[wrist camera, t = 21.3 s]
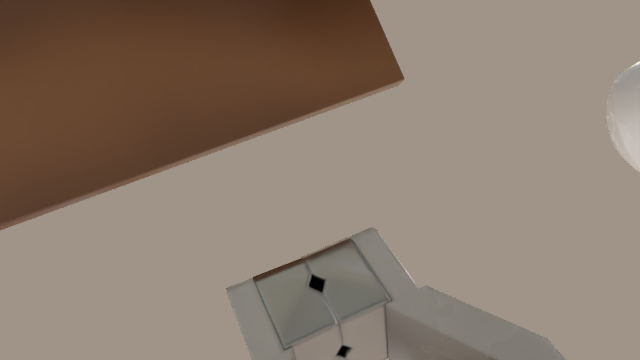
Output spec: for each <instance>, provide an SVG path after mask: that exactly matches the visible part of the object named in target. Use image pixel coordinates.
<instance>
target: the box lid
mask: <svg viewBox="0 0 640 360" xmlns="http://www.w3.org/2000/svg"><path fill="white" fill-rule="evenodd" d="M403 80H404V76H403V74H402V72H401V70H400V67H399V65H398V63H397V61H396V58H395V56H394V54H393V51H392V49H391V47H390V45H389V42H388V40H387V38H386V35H385V33H384V31H383V29H382V27H381V24H380V22H379V20H378V17H377V15H376V13H375V10H374V8H373V6H372V4H371V1H370V0H0V230H2V229H5V228H8V227H11V226H13V225H16V224H18V223H21V222H24V221H27V220H30V219H32V218H35V217H38V216H41V215H44V214H46V213H49V212H52V211H55V210H57V209H60V208H63V207H65V206H68V205H71V204H74V203H77V202H79V201H82V200H85V199H87V198H90V197H93V196H96V195H98V194H101V193H104V192H107V191H109V190H112V189H115V188H118V187H120V186H123V185H126V184H129V183H131V182H134V181H137V180H139V179H142V178H145V177H148V176H151V175H153V174H156V173H159V172H162V171H164V170H167V169H170V168H172V167H175V166H178V165H181V164H184V163H186V162H189V161H192V160H195V159H197V158H200V157H203V156H206V155H208V154H211V153H214V152H217V151H219V150H222V149H225V148H228V147H230V146H233V145H236V144H239V143H241V142H244V141H247V140H250V139H252V138H255V137H258V136H261V135H263V134H266V133H269V132H272V131H274V130H277V129H280V128H283V127H285V126H288V125H291V124H294V123H296V122H299V121H302V120H305V119H307V118H310V117H313V116H316V115H318V114H321V113H324V112H326V111H329V110H332V109H335V108H337V107H340V106H343V105H346V104H349V103H351V102H354V101H357V100H360V99H362V98H365V97H368V96H371V95H373V94H376V93H379V92H381V91H384V90H387V89H390V88H393V87H395V86H398V85H399V84H400V83H401V82H402V81H403Z"/></svg>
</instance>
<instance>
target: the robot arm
mask: <svg viewBox="0 0 640 360" xmlns="http://www.w3.org/2000/svg"><path fill="white" fill-rule="evenodd" d="M606 122H607V128H608V132H609V135H610V138H611V140H612V142H613V144H614V146H615V148H616V150H617V151H618V152H619V154H620V155H621V156H622V157H623V159H624V160H625V161H626V162H627V163H628V164H629V165H631V166H632V167H633V168H634V169H636V170H637V171H639V172H640V62H638V63H636V64H635V65H633V66H631V67H630V68H628V69H627V70H625V71H623V72H622V73H620V74H619V75H618V76H617V78H616V79H615V81H614V83H613V86H612V88H611V91H610V93H609V96H608V101H607V106H606ZM226 289H227V294H228V298H229V300H230V303H231V305H232V308H233V311H234V313H235V316H236V318H237V321H238V324H239V327H240V329H241V332H242V334H243V337H244V340H245V342H246V345H247V347H248V350H249V353H250V356H251V358H252V360H385V359H387V358H389V360H565V358H564V357H563V356H562V355H561V354H560V353H559V352H558V350H557V349H556V348H555V347H554V346H553V345H552V344H551V342H550V341H549V340H548V339H547V338H545V337H542V336H540V335H538V334H536V333H533V332H531V331H529V330H527V329H524V328H522V327H520V326H517V325H515V324H513V323H510V322H508V321H506V320H504V319H501V318H499V317H497V316H495V315H492V314H490V313H488V312H486V311H483V310H481V309H479V308H476V307H474V306H472V305H470V304H467V303H465V302H463V301H460V300H458V299H456V298H453V297H451V296H449V295H447V294H444V293H442V292H440V291H438V290H435V289H433V288H431V287H428V286H424V287H422V288H419V287H418V286H417V284H416V283H415V282H414V280H413V279H412V278H411V276H410V275H409V273H408V272H407V271H406V269H405V268H404V267H403V265H402V264H401V262H400V261H399V259H398V258H397V257H396V255H395V254H394V253H393V251H392V250H391V249H390V247H389V246H388V244H387V243H386V242H385V240H384V239H383V237H382V236H381V235H380V233H379V232H378V231H377V230H376V229H375V228H373V227H372V228H369V229H366V230H364V231H362V232H360V233H357V234H355V235H352V236H350V237H346V238H344V239H342V240H339V241H337V242H335V243H332V244H330V245H328V246H325V247H323V248H321V249H319V250H316V251H314V252H312V253H310V254H307V255H305V256H303V257H301V259H298V260H296V261H293V262H291V263H288V264H285V265H283V266H280V267H278V268H275V269H273V270H270V271H268V272H265V273H262V274H260V275H257V276H255V277H253V279H252V278H250V279H247V280H245V281H242V282H240V283H238V284H235V285H233V286H230V287H228V288H226Z"/></svg>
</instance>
